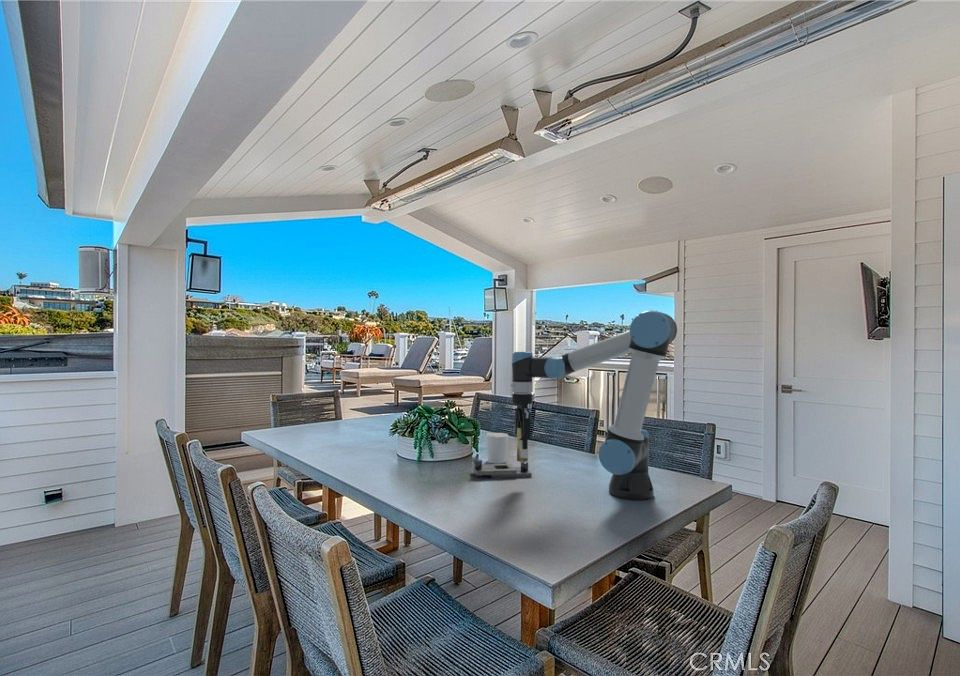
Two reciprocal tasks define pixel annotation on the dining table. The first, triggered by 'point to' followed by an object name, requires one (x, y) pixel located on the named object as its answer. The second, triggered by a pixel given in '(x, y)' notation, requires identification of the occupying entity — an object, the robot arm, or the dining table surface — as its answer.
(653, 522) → the dining table surface
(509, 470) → the toggle switch plate
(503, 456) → the candle holder
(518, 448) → the toggle switch lever
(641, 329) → the robot arm
